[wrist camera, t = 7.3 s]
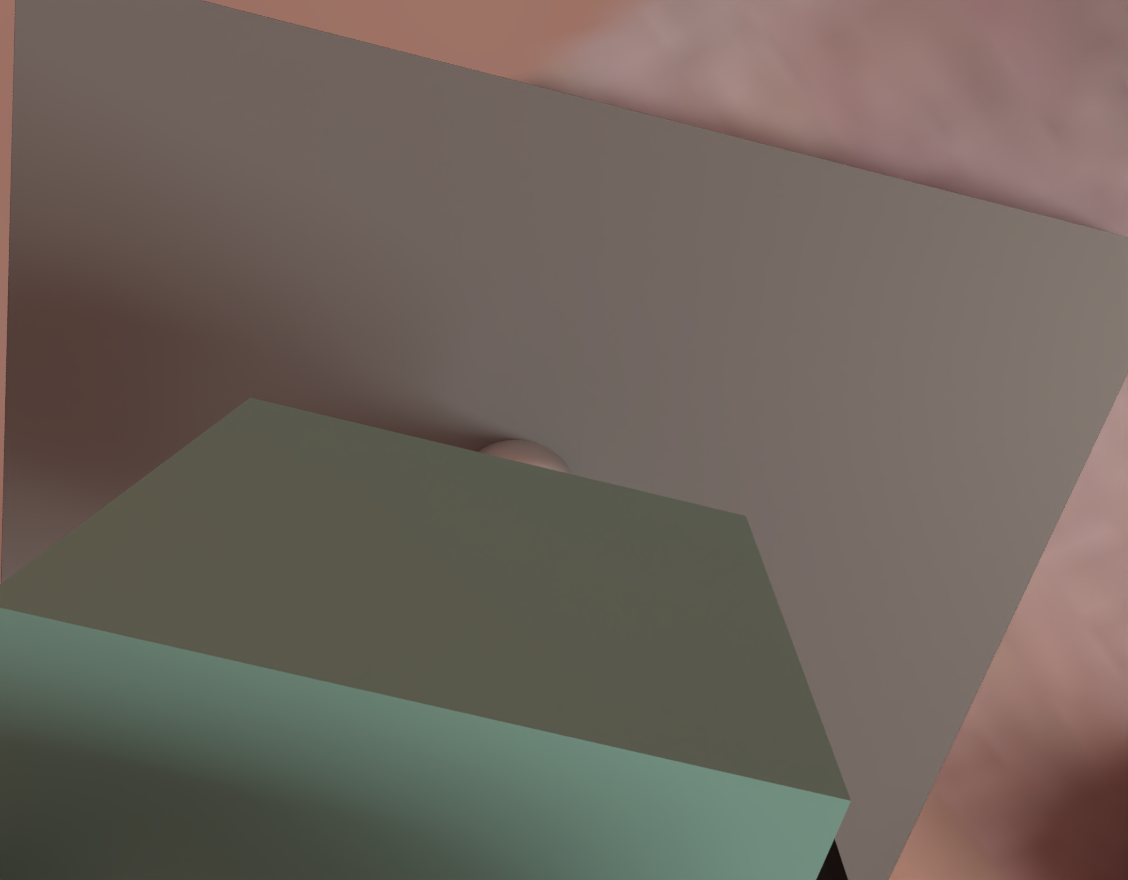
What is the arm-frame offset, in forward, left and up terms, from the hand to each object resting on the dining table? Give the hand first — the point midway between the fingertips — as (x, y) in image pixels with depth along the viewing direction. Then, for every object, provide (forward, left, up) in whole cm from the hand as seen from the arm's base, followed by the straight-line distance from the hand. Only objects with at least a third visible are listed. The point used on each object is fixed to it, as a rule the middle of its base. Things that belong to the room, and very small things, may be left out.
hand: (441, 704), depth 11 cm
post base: (0, 0, -10) cm, 10 cm away
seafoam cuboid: (0, 0, -1) cm, 1 cm away
